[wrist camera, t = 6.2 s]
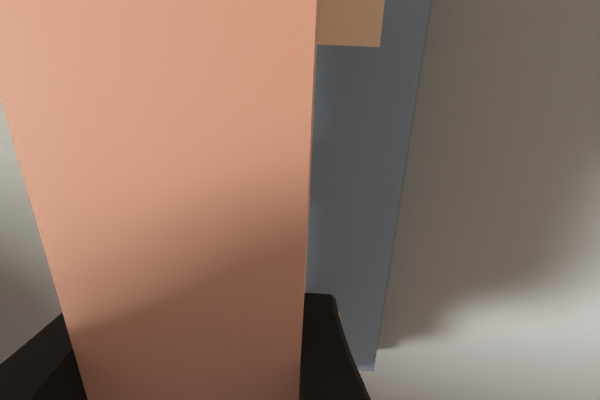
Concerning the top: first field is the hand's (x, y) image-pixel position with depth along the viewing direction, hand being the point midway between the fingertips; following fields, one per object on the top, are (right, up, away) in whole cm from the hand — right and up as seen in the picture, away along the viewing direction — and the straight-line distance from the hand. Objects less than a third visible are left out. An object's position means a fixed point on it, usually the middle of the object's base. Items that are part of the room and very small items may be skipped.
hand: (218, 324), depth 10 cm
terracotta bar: (0, +1, +3) cm, 3 cm away
